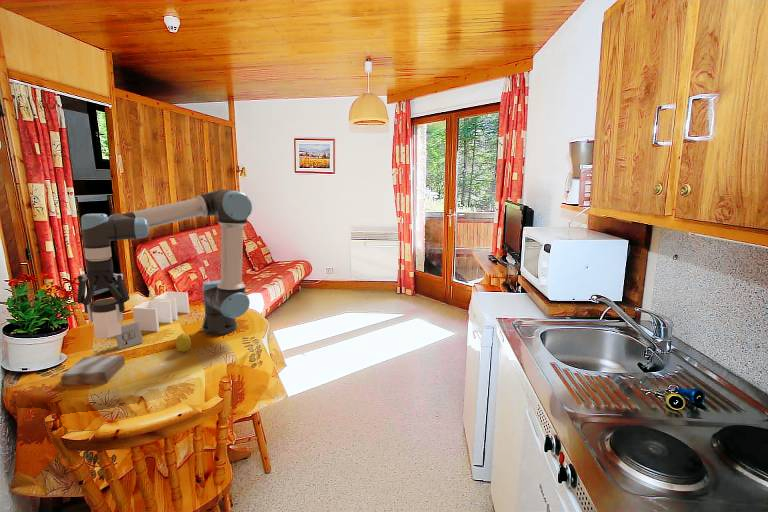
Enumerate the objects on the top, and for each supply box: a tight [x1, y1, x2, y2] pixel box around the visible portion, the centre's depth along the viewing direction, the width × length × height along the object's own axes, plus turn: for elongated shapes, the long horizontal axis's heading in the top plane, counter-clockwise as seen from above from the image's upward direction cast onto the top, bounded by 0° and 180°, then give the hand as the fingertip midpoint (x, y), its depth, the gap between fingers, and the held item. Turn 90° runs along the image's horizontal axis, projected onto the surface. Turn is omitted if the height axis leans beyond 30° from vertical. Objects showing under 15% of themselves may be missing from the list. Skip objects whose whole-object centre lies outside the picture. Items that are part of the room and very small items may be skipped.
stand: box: [60, 354, 126, 387], centre depth 148 cm, size 14×14×4 cm
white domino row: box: [132, 291, 190, 332], centre depth 198 cm, size 25×11×11 cm, turn 173°
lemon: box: [175, 333, 192, 353], centre depth 166 cm, size 6×6×8 cm
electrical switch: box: [114, 321, 144, 350], centre depth 172 cm, size 9×5×9 cm, turn 141°
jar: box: [90, 298, 122, 339], centre depth 145 cm, size 9×8×12 cm
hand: (106, 321), depth 145 cm, fingers closed on jar, 8 cm apart
